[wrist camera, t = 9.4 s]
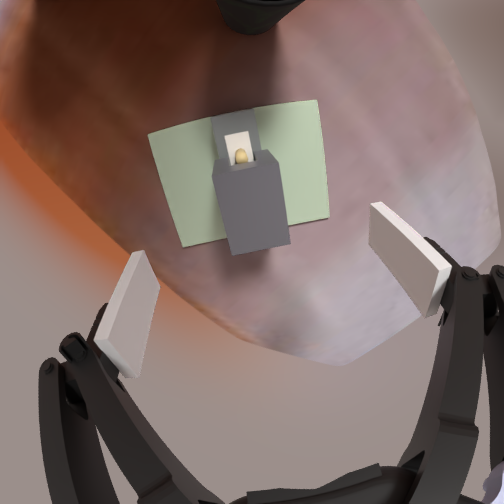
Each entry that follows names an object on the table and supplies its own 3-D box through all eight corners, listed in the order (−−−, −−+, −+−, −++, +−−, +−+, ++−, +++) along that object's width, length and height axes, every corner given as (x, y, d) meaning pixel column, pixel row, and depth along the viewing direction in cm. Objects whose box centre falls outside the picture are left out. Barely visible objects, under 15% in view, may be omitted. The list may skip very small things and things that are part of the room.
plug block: (214, 159, 24) (211, 176, 19) (267, 149, 24) (279, 162, 19) (230, 225, 28) (231, 255, 23) (278, 215, 28) (290, 243, 23)
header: (148, 134, 25) (128, 143, 20) (315, 99, 25) (338, 100, 19) (183, 245, 32) (175, 276, 27) (328, 216, 32) (348, 241, 27)
